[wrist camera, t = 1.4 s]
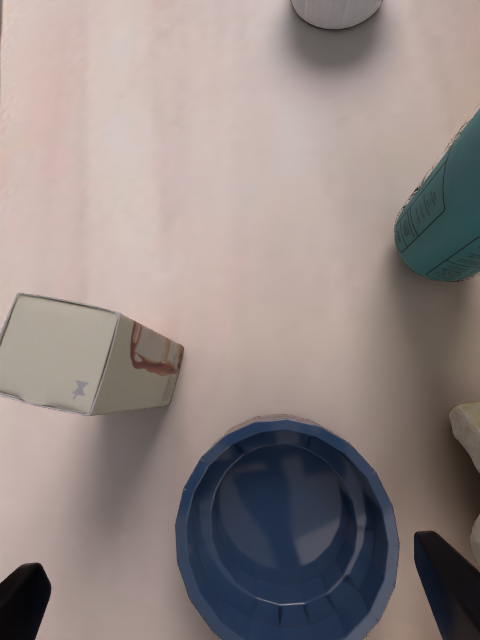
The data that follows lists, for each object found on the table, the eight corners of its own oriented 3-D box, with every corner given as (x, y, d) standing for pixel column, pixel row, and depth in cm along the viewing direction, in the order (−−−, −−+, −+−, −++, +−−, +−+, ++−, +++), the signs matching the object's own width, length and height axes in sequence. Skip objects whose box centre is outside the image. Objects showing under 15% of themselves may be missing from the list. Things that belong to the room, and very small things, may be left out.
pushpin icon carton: (186, 344, 23) (128, 312, 13) (170, 407, 22) (95, 423, 12) (118, 329, 23) (12, 287, 14) (99, 390, 23) (-26, 391, 13)
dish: (358, 635, 19) (383, 700, 15) (172, 580, 20) (151, 626, 16) (383, 436, 21) (411, 447, 17) (214, 397, 22) (203, 399, 18)
